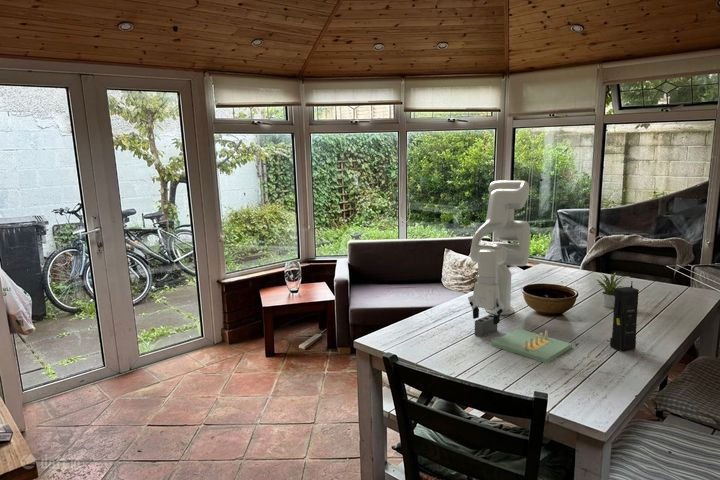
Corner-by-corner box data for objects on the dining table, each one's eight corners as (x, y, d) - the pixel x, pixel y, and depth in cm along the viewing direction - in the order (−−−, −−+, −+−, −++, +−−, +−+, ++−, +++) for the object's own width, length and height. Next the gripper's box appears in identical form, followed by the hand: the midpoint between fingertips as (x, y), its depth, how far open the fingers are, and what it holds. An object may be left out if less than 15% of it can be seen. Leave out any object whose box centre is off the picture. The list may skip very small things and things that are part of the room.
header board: (491, 345, 183) (492, 332, 182) (518, 332, 195) (518, 320, 194) (546, 363, 167) (547, 349, 166) (571, 347, 179) (572, 334, 178)
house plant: (620, 301, 230) (623, 268, 227) (634, 310, 216) (637, 275, 213) (590, 301, 231) (592, 268, 228) (601, 310, 218) (603, 275, 215)
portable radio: (619, 352, 173) (624, 286, 169) (606, 346, 179) (611, 281, 174) (637, 349, 175) (642, 284, 171) (624, 343, 181) (629, 279, 177)
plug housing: (474, 334, 193) (474, 320, 192) (489, 327, 200) (490, 314, 199) (482, 337, 191) (482, 323, 190) (497, 330, 198) (497, 316, 197)
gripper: (463, 277, 195) (462, 318, 198) (500, 285, 182) (499, 328, 185) (474, 274, 200) (473, 314, 203) (511, 282, 187) (509, 323, 190)
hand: (485, 320), depth 194 cm, fingers open, 9 cm apart
